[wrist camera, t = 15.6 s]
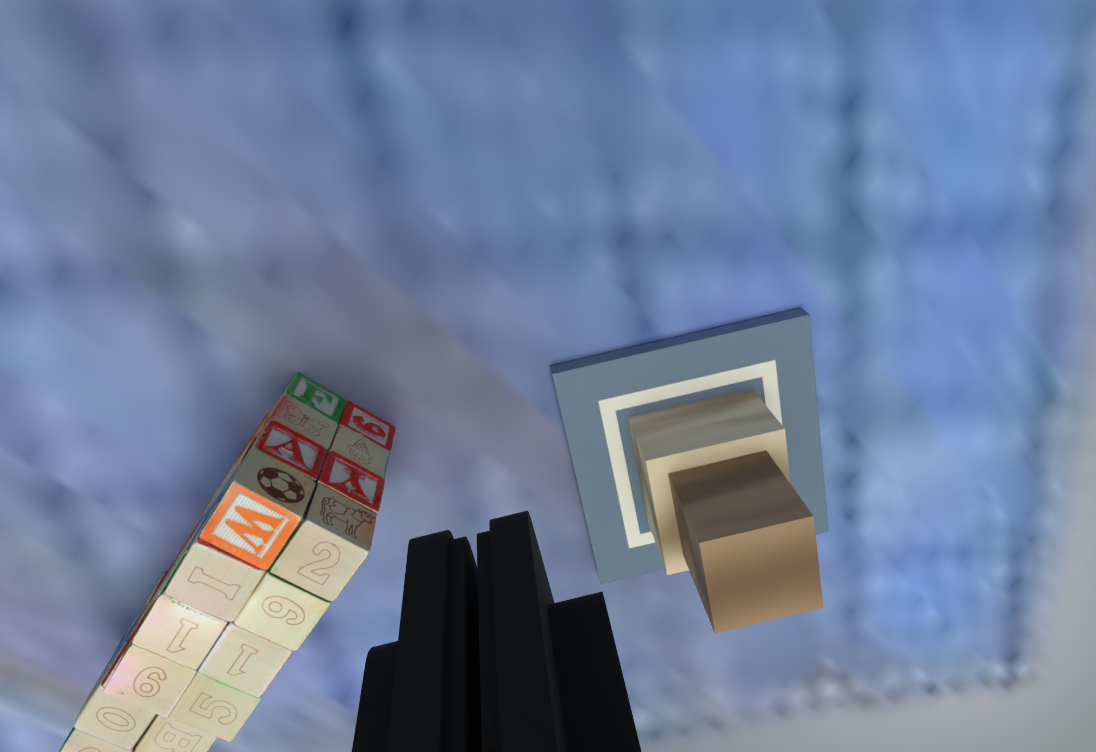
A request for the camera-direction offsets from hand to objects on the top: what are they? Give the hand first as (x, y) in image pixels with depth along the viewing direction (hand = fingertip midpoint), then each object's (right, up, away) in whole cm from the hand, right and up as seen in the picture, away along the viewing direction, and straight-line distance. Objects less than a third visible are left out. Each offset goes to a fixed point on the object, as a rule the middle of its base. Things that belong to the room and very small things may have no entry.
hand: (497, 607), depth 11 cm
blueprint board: (+9, -1, +35) cm, 36 cm away
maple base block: (+9, -1, +34) cm, 35 cm away
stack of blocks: (-16, -6, +35) cm, 39 cm away
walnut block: (+10, -3, +29) cm, 31 cm away
